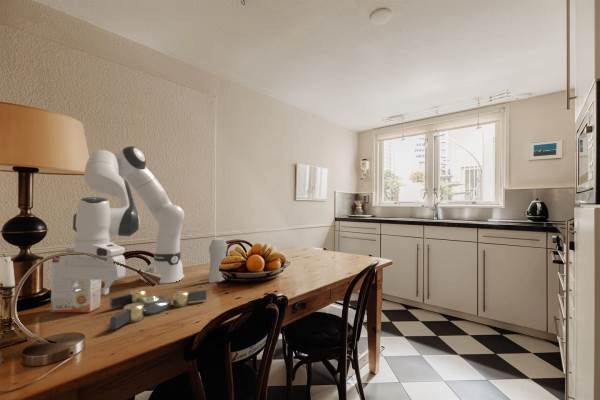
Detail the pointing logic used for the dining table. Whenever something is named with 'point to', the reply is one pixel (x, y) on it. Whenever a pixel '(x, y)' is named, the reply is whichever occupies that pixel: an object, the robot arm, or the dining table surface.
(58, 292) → the cracker box
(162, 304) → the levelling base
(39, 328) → the dining table surface
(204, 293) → the knob left
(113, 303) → the knob back
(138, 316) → the knob front
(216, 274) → the tall pale column
